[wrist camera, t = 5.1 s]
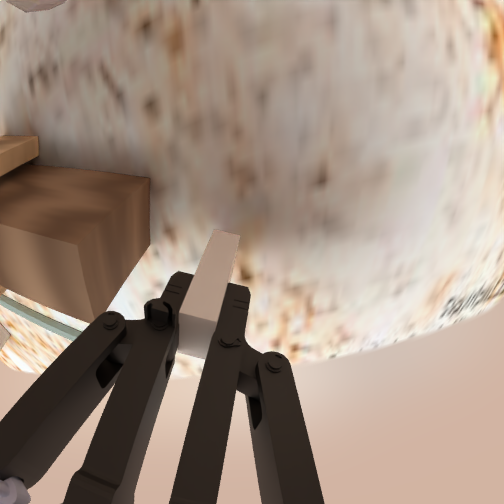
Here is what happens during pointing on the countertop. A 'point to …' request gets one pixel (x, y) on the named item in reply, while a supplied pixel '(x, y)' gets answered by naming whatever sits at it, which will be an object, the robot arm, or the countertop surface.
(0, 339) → the skincare box
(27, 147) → the wooden arch block
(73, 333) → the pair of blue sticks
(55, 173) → the brown wooden block
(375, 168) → the countertop surface
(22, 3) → the mug
